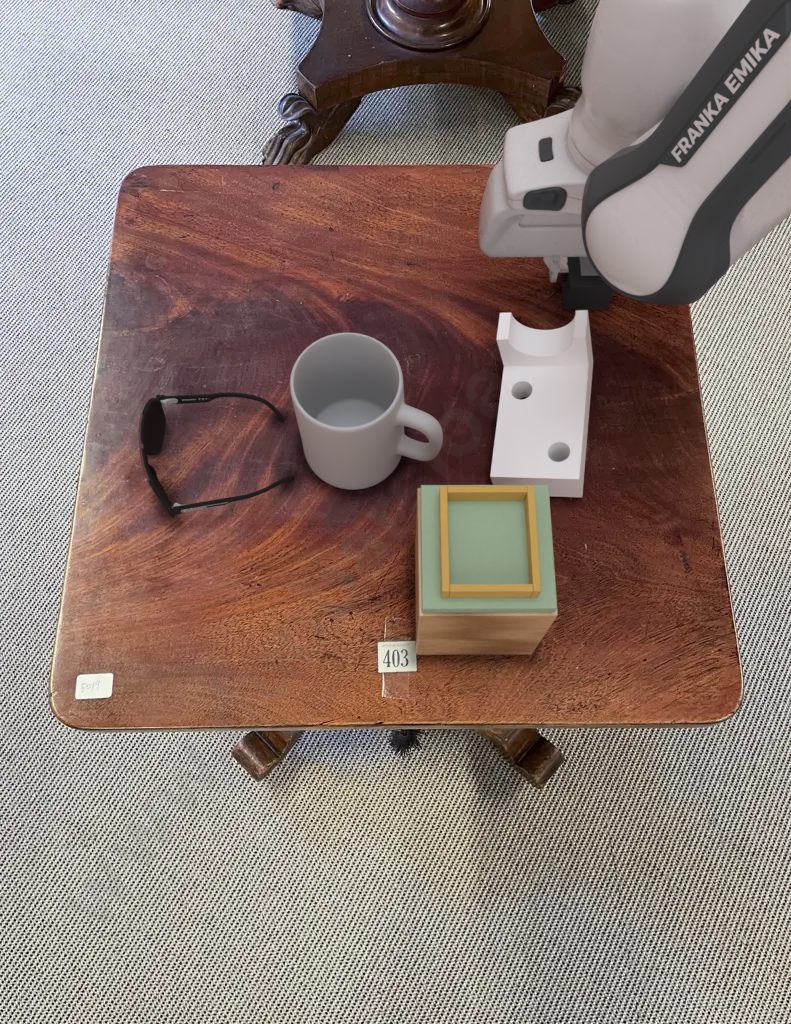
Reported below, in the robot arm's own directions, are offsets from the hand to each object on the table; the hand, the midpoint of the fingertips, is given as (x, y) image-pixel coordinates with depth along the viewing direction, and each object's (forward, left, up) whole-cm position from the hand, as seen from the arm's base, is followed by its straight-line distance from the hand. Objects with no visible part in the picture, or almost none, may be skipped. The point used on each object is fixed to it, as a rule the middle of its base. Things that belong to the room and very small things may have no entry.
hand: (586, 276), depth 77 cm
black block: (0, 0, -2) cm, 2 cm away
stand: (-8, +30, -2) cm, 31 cm away
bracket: (-4, +14, -2) cm, 15 cm away
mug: (+6, +24, -2) cm, 25 cm away
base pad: (-8, +30, +10) cm, 33 cm away
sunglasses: (+16, +32, -2) cm, 36 cm away
